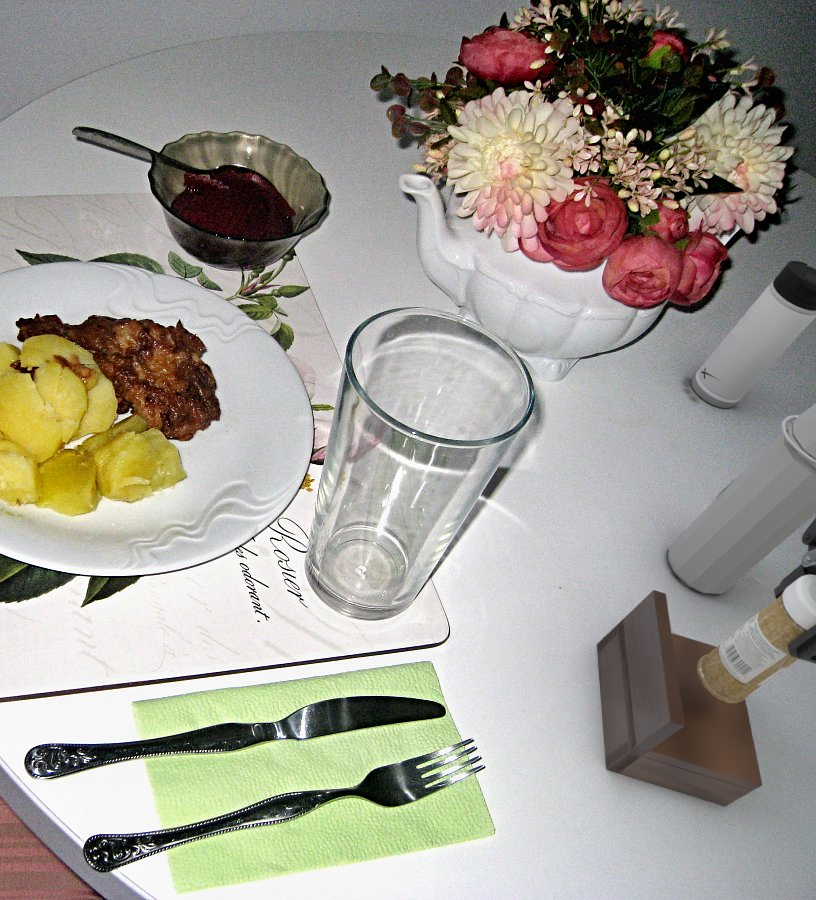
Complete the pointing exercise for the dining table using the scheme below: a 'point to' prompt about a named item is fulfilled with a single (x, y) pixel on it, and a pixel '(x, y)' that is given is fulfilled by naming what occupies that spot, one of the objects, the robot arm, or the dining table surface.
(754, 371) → the travel mug
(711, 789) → the shelf
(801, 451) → the water bottle
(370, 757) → the dining table surface
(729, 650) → the sprinkles bottle
